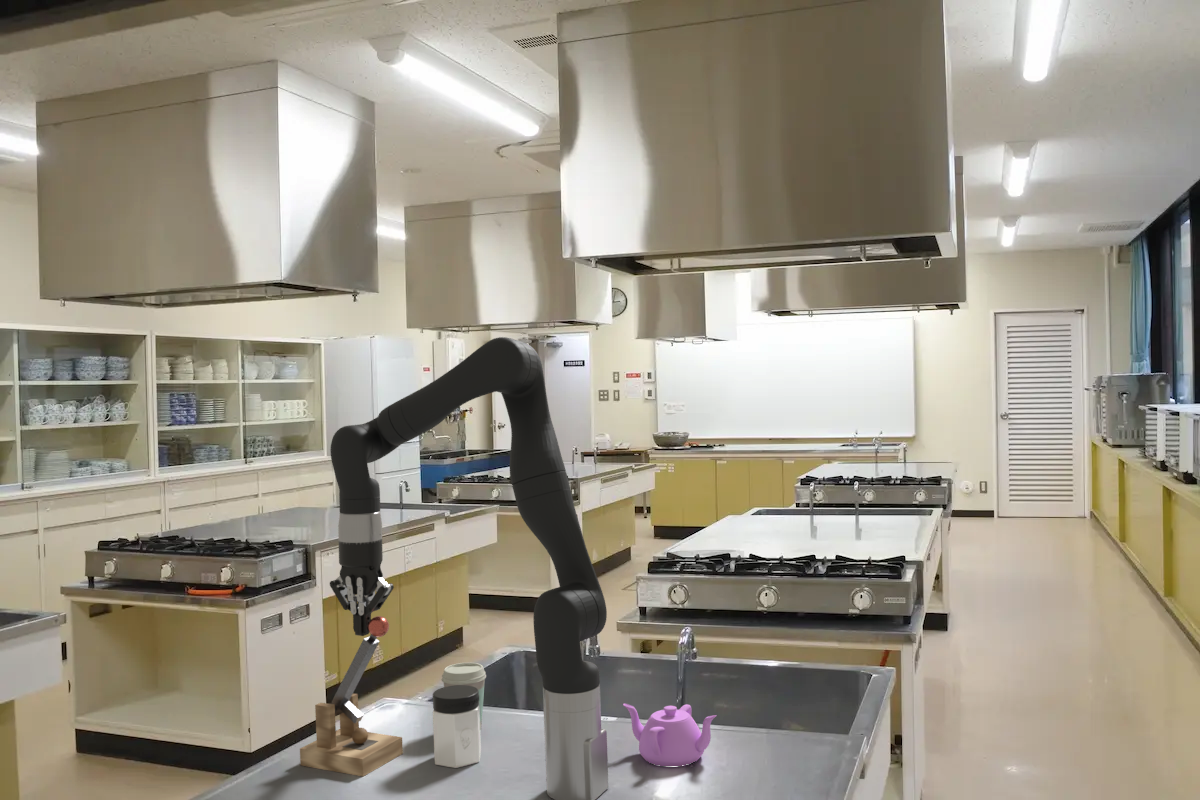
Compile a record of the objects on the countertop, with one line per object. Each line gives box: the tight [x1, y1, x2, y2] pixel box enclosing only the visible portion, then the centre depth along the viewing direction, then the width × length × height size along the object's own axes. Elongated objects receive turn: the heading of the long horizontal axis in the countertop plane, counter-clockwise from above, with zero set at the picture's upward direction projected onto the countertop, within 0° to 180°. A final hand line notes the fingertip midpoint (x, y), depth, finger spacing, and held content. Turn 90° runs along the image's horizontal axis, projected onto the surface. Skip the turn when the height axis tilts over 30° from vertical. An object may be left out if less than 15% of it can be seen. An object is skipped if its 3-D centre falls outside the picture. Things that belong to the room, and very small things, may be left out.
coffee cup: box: [441, 662, 487, 731], centre depth 189 cm, size 8×9×12 cm
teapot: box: [622, 703, 717, 766], centre depth 172 cm, size 12×14×9 cm
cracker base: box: [299, 693, 404, 777], centre depth 176 cm, size 14×11×10 cm
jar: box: [432, 685, 482, 769], centre depth 174 cm, size 9×8×12 cm
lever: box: [330, 615, 390, 723], centre depth 174 cm, size 7×4×21 cm
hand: (362, 634), depth 174 cm, fingers closed
